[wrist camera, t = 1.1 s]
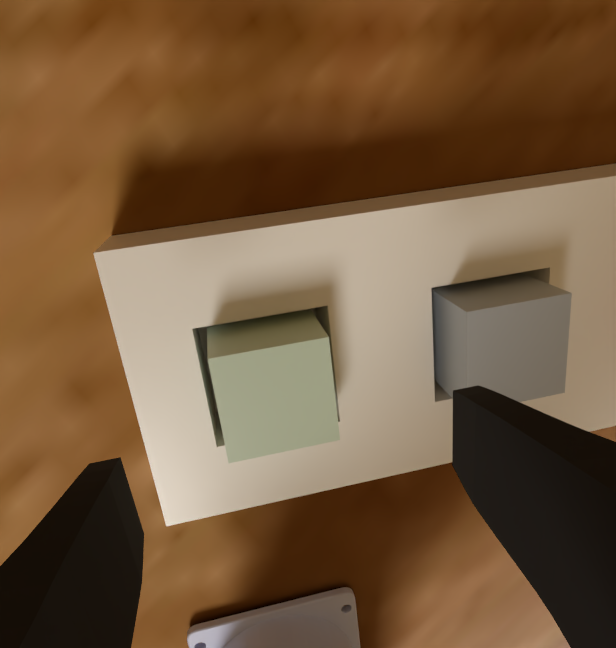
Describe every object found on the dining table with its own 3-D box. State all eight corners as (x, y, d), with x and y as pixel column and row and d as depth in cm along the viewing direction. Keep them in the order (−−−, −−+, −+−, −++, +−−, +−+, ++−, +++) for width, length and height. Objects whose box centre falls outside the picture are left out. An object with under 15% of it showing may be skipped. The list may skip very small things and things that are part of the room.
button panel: (697, 365, 24) (760, 393, 22) (171, 475, 21) (166, 526, 18) (734, 146, 21) (816, 146, 18) (110, 235, 17) (93, 252, 15)
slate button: (518, 360, 20) (564, 392, 17) (432, 377, 20) (467, 413, 17) (521, 272, 19) (571, 292, 16) (429, 288, 18) (466, 312, 16)
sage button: (321, 399, 19) (339, 440, 16) (225, 418, 18) (228, 463, 16) (310, 309, 18) (328, 336, 15) (207, 326, 17) (207, 359, 15)
